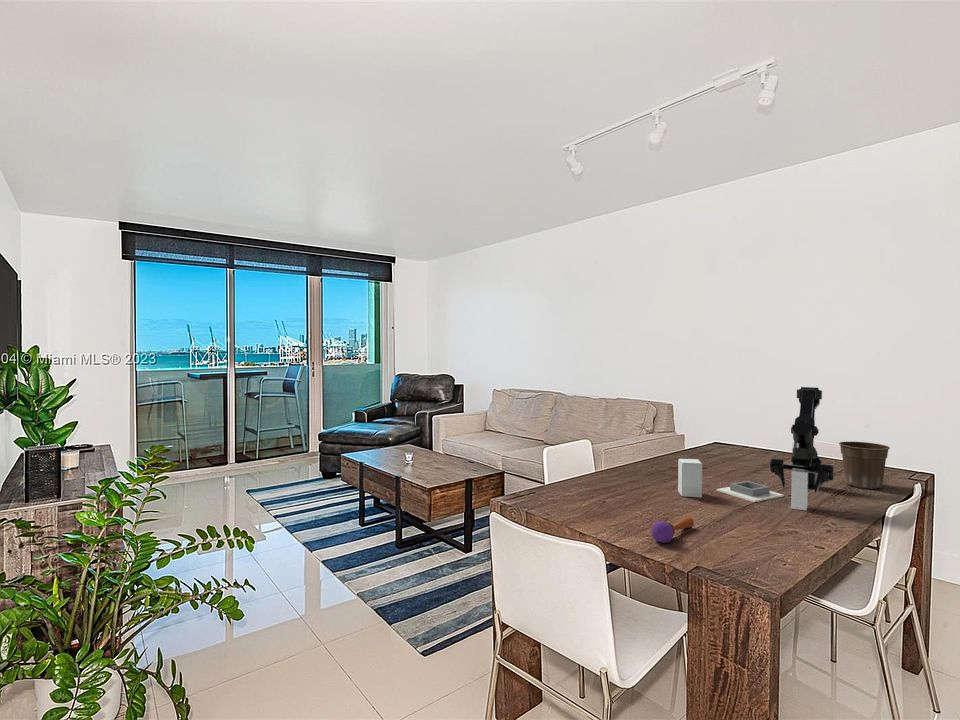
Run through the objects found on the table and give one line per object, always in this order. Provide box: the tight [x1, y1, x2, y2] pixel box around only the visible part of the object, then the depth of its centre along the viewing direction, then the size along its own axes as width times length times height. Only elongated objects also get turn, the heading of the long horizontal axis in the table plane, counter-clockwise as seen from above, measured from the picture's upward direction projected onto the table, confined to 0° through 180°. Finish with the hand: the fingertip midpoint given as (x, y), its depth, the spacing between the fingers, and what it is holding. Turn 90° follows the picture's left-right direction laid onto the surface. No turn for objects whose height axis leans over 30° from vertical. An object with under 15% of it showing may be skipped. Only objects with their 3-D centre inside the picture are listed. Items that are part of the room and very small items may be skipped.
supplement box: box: [677, 458, 703, 498], centre depth 195 cm, size 7×7×13 cm
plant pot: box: [838, 441, 891, 490], centre depth 207 cm, size 16×16×16 cm
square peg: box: [790, 468, 809, 512], centre depth 179 cm, size 4×4×13 cm
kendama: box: [650, 516, 695, 544], centre depth 155 cm, size 6×6×20 cm
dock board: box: [716, 480, 785, 503], centre depth 196 cm, size 16×16×4 cm
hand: (799, 489), depth 178 cm, fingers open, 9 cm apart
